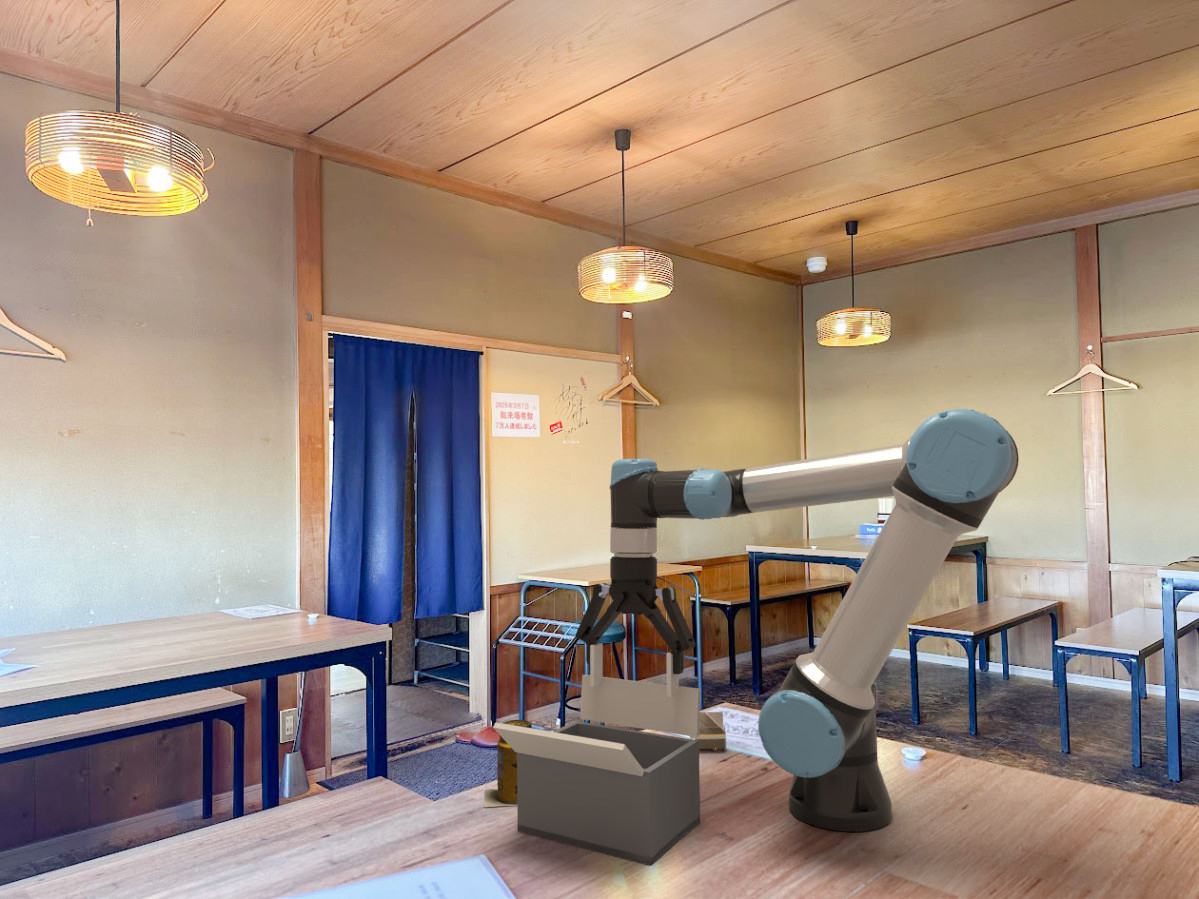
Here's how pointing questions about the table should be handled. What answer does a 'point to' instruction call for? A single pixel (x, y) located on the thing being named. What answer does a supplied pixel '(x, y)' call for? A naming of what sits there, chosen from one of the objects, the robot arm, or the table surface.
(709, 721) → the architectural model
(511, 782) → the condiment
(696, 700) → the far flap
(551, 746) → the near flap
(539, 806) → the carton
